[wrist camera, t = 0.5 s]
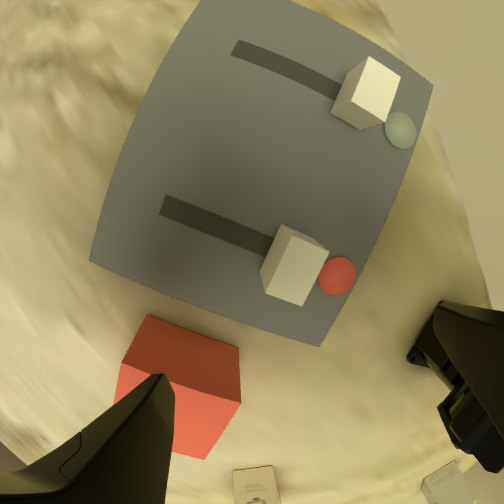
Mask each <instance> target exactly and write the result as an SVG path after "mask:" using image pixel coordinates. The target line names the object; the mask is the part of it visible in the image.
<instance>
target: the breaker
mask: <svg viewBox="0 0 504 504" xmlns="http://www.w3.org/2000/svg"><path fill="white" fill-rule="evenodd" d="M400 78H401V77H400V76H399V75H397V74H396V73H394V72H393V71H391V70H390V69H388V68H387V67H385V66H384V65H382V64H381V63H379V62H378V61H376V60H375V59H373V58H371V57H370V56H368V57H367V58H366V59H365V60H363V61H362V62H361V63H359V64H358V65H357V66H356V67H354V68H353V69H352V70H351V71H349V72H348V73H347V74H346V77H345V79H344V82H343V84H342V86H341V89H340V91H339V93H338V96H337V98H336V100H335V103H334V105H333V107H332V110H331V112H330V113H331V114H333V115H335V116H336V117H338V118H340V119H342V120H344V121H345V122H347V123H349V124H351V125H352V126H354V127H356V128H358V129H359V130H360V129H364V128H367V127H370V126H374V125H377V124H381V123H384V122H385V121H386V119H387V116H388V113H389V110H390V108H391V105H392V102H393V99H394V96H395V93H396V90H397V87H398V84H399V81H400Z"/></svg>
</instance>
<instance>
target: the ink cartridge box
mask: <svg viewBox="0 0 504 504" xmlns="http://www.w3.org/2000/svg"><path fill="white" fill-rule="evenodd" d="M233 496H234V504H281V500H280V495H279V490H278V486H277V482H276V478H275V474H274V470H273V466H266V467H260V468H252V469H244V470H235V471H233Z"/></svg>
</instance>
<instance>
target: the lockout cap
mask: <svg viewBox="0 0 504 504" xmlns="http://www.w3.org/2000/svg"><path fill="white" fill-rule="evenodd" d="M155 373H164V374H165V375H166V376H167V378H168V380H169V382H170V384H171V386H172V388H173V390H174V393H175V419H174V438H173V446H172V451H173V452H176V453H180V454H183V455H187V456H191V457H195V458H199V459H203V460H205V458H206V457H207V455H208V454H209V452H210V451H211V449H212V448H213V446H214V445H215V443H216V442H217V440H218V439H219V437H220V436H221V434H222V433H223V431H224V430H225V428H226V426H227V425H228V423H229V422H230V420H231V419H232V417H233V415H234V414H235V412H236V411H237V409H238V407H239V406H240V404H241V390H240V370H239V348H238V347H235V346H232V345H228V344H225V343H222V342H220V341H217V340H214V339H211V338H208V337H205V336H202V335H199V334H197V333H194V332H191V331H188V330H186V329H183V328H180V327H178V326H175V325H173V324H170V323H168V322H165V321H162V320H160V319H157V318H155V317H153V316H150V315H148V314H147V316H146V318H145V320H144V321H143V323H142V325H141V327H140V329H139V330H138V332H137V334H136V336H135V338H134V340H133V342H132V343H131V345H130V347H129V349H128V351H127V353H126V355H125V357H124V359H123V361H122V363H121V367H120V372H119V377H118V382H117V388H116V393H115V399H114V404H115V403H117V402H118V401H119V400H120V399H122V398H123V397H124V396H125V395H127V394H128V393H129V392H130V391H132V390H133V389H134V388H135V387H137V386H138V385H139V384H140V383H141V382H143V381H144V380H145V379H146V378H148V377H149V376H150V375H151V374H155ZM114 404H113V405H114Z"/></svg>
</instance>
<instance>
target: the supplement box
mask: <svg viewBox="0 0 504 504" xmlns="http://www.w3.org/2000/svg"><path fill="white" fill-rule="evenodd" d="M421 490H422V492H423V494H424V496H425V498H426V500H427V502H428V504H475V503H476V502H477V500H478V499H477V497H476V495H475V494H474V492H473V491H472V489H471V487H470V486H469V484H468V482H467V481H466V479H465V477H464V476H463V474H462V473H461V471H460V469H459V468H458V466H457V465H456V463H455V462H454V461H452V462H451V463H449V464H447V465H446V466H444V467H443V468H441V469H439V470H438V471H436V472H434V473H433V474H431V475H429V476H427V477H426V478H425V479H424V483H423V485H422V488H421Z"/></svg>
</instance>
